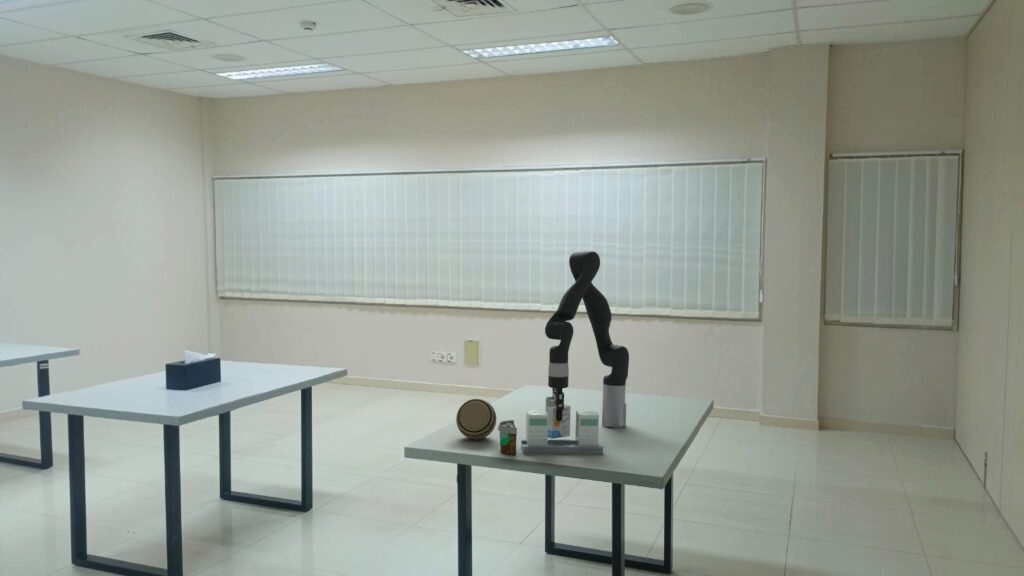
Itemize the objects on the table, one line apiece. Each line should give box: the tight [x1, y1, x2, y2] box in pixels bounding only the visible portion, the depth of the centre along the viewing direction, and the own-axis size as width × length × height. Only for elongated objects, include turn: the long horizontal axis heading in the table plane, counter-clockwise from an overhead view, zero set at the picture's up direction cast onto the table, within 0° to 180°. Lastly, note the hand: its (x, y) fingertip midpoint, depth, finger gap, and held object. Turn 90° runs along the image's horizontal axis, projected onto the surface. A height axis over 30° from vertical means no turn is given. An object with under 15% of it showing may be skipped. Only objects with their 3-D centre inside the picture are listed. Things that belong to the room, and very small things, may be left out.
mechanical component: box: [455, 398, 497, 440], centre depth 276 cm, size 15×15×15 cm
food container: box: [497, 419, 518, 457], centre depth 259 cm, size 12×6×10 cm, turn 5°
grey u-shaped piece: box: [520, 410, 604, 455], centre depth 262 cm, size 28×10×14 cm, turn 94°
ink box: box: [544, 396, 572, 440], centre depth 275 cm, size 8×5×15 cm, turn 123°
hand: (557, 418), depth 275 cm, fingers closed on ink box, 6 cm apart
